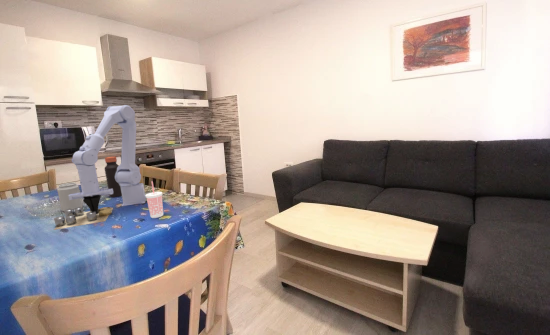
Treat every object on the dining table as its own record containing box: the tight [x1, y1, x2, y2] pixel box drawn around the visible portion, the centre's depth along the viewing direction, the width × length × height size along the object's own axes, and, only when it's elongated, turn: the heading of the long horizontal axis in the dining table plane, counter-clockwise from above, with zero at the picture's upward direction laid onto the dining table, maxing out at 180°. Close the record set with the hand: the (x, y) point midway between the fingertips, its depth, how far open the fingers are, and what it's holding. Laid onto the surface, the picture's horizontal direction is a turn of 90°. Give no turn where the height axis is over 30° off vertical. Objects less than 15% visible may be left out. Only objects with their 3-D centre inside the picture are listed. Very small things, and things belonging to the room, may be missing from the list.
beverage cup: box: [145, 180, 164, 219], centre depth 104 cm, size 6×6×14 cm
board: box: [53, 207, 114, 231], centre depth 105 cm, size 16×17×1 cm
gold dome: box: [98, 206, 113, 217], centre depth 107 cm, size 4×4×2 cm
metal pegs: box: [53, 207, 100, 228], centre depth 104 cm, size 13×13×3 cm
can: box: [56, 182, 84, 212], centre depth 116 cm, size 8×8×12 cm
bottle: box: [104, 156, 122, 198], centre depth 136 cm, size 7×7×20 cm
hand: (95, 213), depth 106 cm, fingers closed
